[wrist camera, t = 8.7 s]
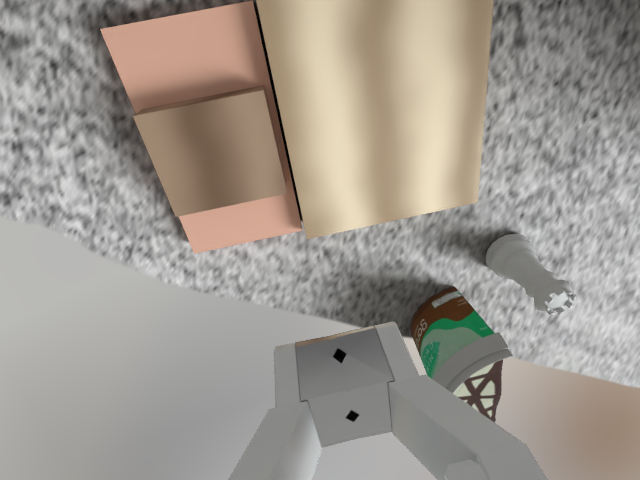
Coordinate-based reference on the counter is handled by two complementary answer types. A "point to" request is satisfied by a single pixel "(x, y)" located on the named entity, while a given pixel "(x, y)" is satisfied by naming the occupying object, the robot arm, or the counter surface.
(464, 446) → the robot arm
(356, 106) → the oak board
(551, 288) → the rook chess piece
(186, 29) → the salmon pink pad
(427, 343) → the food container
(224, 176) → the walnut tile
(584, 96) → the counter surface
